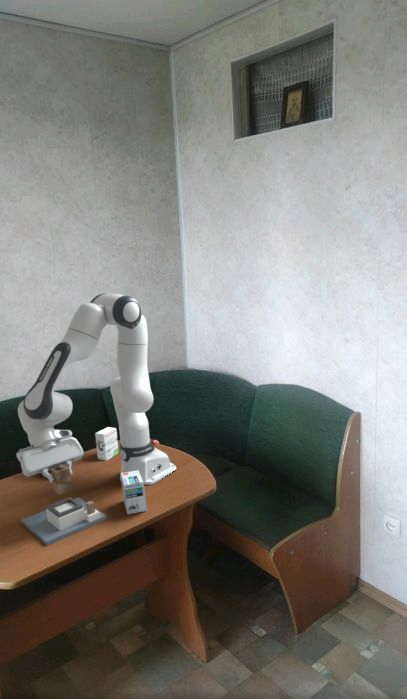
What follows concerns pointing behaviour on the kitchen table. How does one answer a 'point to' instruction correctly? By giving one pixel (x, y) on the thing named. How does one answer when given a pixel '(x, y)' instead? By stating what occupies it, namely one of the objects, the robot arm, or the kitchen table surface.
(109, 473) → the kitchen table surface
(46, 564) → the kitchen table surface
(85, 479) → the kitchen table surface
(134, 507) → the light bulb box
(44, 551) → the kitchen table surface
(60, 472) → the walnut block
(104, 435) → the ink box
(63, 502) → the build plate
